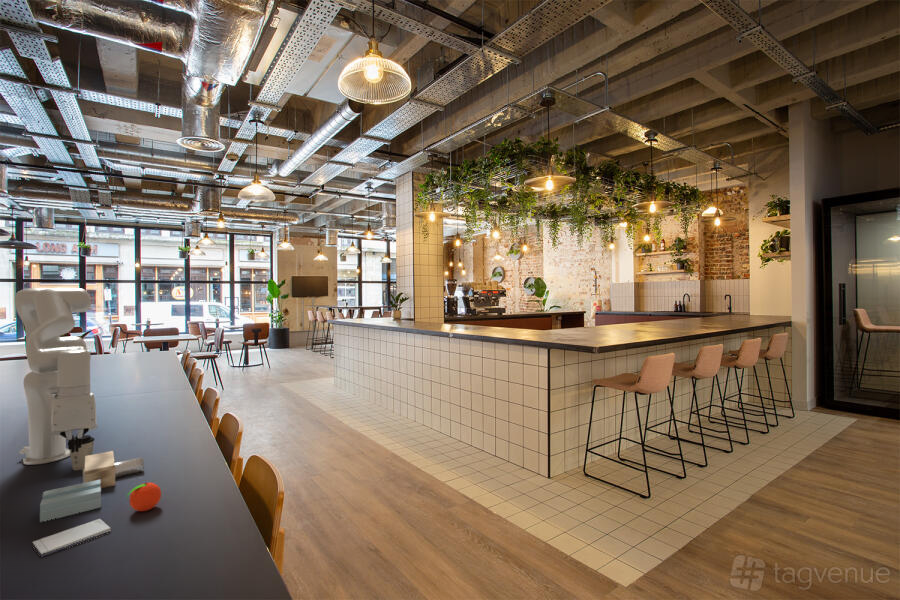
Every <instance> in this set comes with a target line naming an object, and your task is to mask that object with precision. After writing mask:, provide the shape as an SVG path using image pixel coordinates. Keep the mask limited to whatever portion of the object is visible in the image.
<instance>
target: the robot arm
mask: <svg viewBox="0 0 900 600" xmlns="http://www.w3.org/2000/svg"><path fill="white" fill-rule="evenodd" d="M14 305H15V309H16V312H17V314H18V316H19V318H20V319H21V322H22V323H23V326H24V329H25V341H26V342H25V354H26V359H27V362H28V367H29V369H30V372H29V373H27V374H26V375H25V376H24V378H23V382H22V383H23V389H24V393H25V396H26V403H27V419H28V420H27V422H28V446H23V447H22V448H21V449H20V450H19V454H20V455H25V456H26V457H25V458H23V460H22V463H23V465H31V466H32V465H44V464H48V463H53V462H57V461H60V460H63V459H66V458H68V457H71V456H70V450H71V453H74V452H78V450H79V448H81V438H82V436H84V435H87V433H88V432H89V431H93V430H96V429H97V428H98V423H97V408H96V407H97V406H96V405H97V404H96V398H95V394H94V393H93V392H91V359H92V358H91V357H92V356H91V352H90V350H89V349H88V348H87V343H86V341H85V340H84V339H83V338H82V337H80V336H75V335H74V336H71V335H70V336H64V335H66V334H68V333H69V332H71V331H72V330H73V329H74V328H75V325H76V324H75V323H76V321H75V319H74V315H73V313H86V312H88V311H89V310H90V308H91V306H92V300H91V296H90V294H89V292H88V291H87V290H86V289H84V288H78V287H77V288H76V287H72V288H71V287H54V288H53V287H32V288H26V289H21V290H19V291H17V292H16V294H15V295H14ZM73 431H77V434H76V435H75V436H74V434H73ZM66 443H67V444H66ZM66 445H67V446H66ZM67 447H68V448H67Z"/></svg>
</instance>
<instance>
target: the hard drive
mask: <svg viewBox="0 0 900 600" xmlns="http://www.w3.org/2000/svg"><path fill="white" fill-rule="evenodd" d="M108 531H112V530H111V527H110V526H109V524H106V522H105V521H103V520H102V519H101V518H98V519H95V520H92V521H89V522H87V523H84V524H80V525H76V526H75V527H71V528H68V529H66V530H65V529H64V530H63V531H60V532H57V533H54V534H52V535H49V536H45V537H42V538H40V539H37V540H34V541H32V542H31V543H33V544H34V545H35V547H36V548H37V549H38V551H39V552H40V553H41V554H43V553H47V552H50V551H53V550H56V549H59V548H62V547H66V546H68V545H71V544H73V543H76V542H79V541H82V540H85V539H87V538H90V537H93V536H97V535H99V534H102V533H105V532H108Z"/></svg>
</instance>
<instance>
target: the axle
mask: <svg viewBox="0 0 900 600" xmlns="http://www.w3.org/2000/svg"><path fill="white" fill-rule="evenodd" d="M144 463H145V462H144V457H142V456H141V457H137V458H132V459H128V460H127V459H126V460H123V461H117V462H115V478H119V477H123V475H124V476H127V474H128V475H132V473H133V474H136V473H141V472H144V470H145V466H144ZM82 483H85V469H82Z"/></svg>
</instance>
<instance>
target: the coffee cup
mask: <svg viewBox="0 0 900 600" xmlns="http://www.w3.org/2000/svg"><path fill="white" fill-rule="evenodd" d="M94 442H95V438H94V437H92V435H89V434H85V435H84V436H82V438H81V448H79V450H78V452H74V453H71V450H70V456H69V457H70V460H71V465H72V470H73V471H79V470H82V471H83V469H85V456H88V455H93V452H94Z"/></svg>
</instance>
